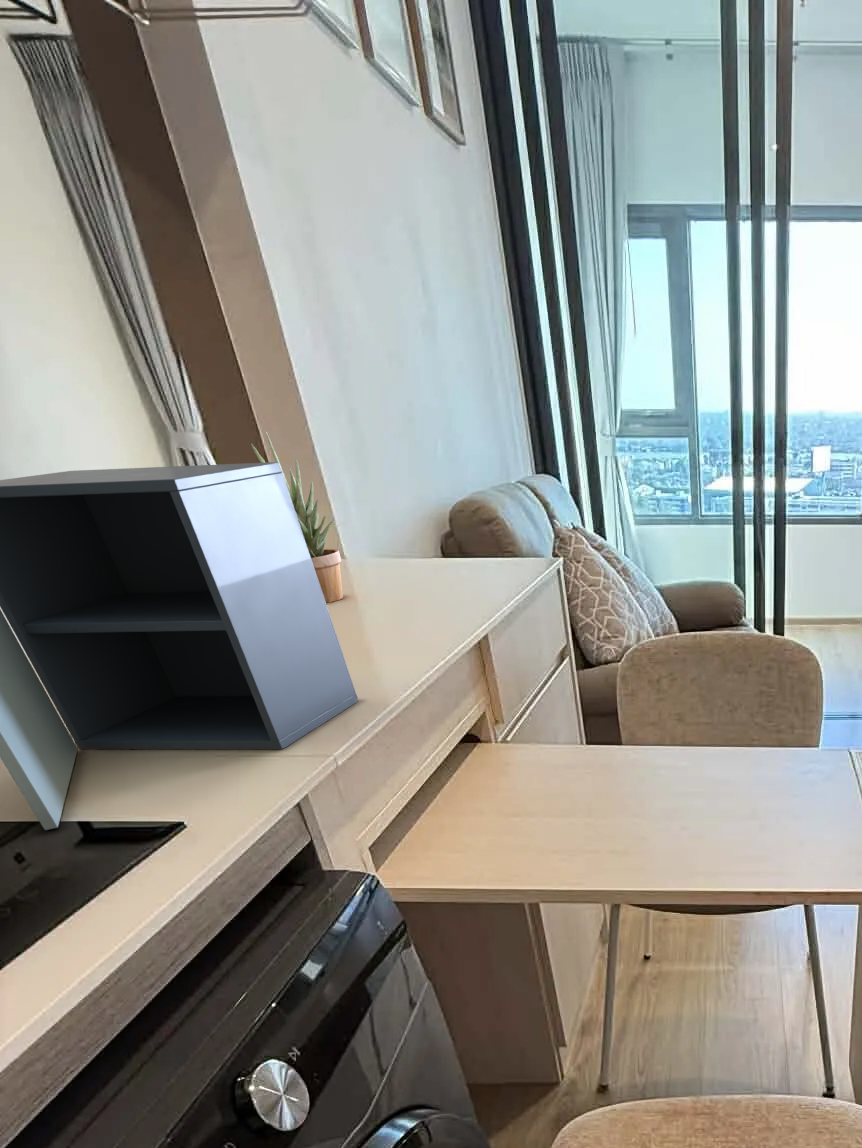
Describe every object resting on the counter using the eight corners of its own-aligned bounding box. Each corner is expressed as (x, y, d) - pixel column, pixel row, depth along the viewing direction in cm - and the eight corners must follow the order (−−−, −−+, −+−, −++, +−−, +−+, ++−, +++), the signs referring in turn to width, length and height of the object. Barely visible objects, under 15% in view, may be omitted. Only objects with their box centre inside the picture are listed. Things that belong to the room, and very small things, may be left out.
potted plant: (286, 602, 150) (226, 433, 134) (336, 592, 155) (284, 428, 140) (312, 608, 144) (253, 433, 129) (364, 597, 150) (312, 428, 135)
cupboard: (282, 749, 88) (173, 479, 73) (78, 749, 90) (-66, 488, 76) (358, 701, 100) (279, 461, 85) (177, 702, 103) (70, 470, 88)
